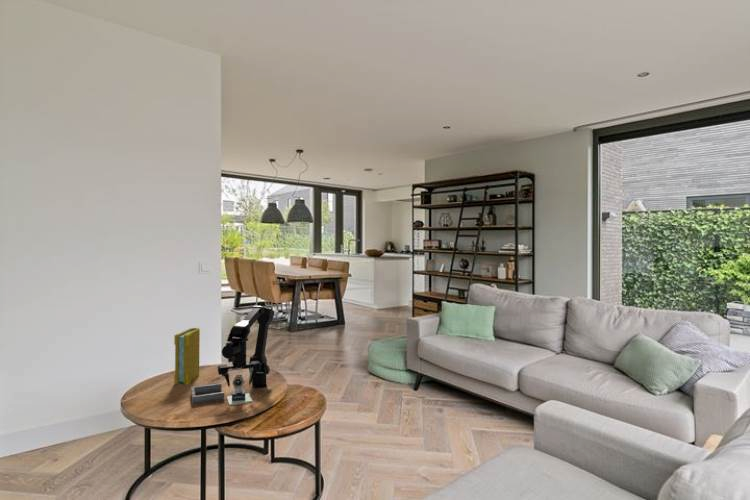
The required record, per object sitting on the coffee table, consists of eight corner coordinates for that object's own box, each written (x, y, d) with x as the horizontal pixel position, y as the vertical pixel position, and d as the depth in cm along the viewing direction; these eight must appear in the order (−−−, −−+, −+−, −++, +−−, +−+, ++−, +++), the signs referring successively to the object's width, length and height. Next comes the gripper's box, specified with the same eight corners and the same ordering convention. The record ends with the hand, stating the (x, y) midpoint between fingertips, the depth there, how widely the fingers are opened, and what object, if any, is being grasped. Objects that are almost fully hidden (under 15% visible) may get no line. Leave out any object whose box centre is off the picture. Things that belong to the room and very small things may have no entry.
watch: (231, 402, 183) (231, 378, 183) (233, 396, 191) (233, 372, 191) (244, 401, 185) (244, 377, 184) (245, 395, 192) (246, 372, 192)
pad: (248, 394, 195) (248, 393, 195) (252, 401, 186) (252, 400, 186) (226, 397, 191) (226, 396, 191) (229, 405, 182) (229, 404, 182)
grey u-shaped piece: (221, 390, 200) (221, 383, 200) (224, 400, 188) (224, 392, 188) (191, 394, 194) (191, 387, 194) (192, 404, 182) (192, 397, 182)
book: (187, 384, 207) (187, 335, 206) (174, 384, 207) (174, 335, 206) (201, 373, 224) (202, 328, 223) (189, 373, 224) (190, 327, 223)
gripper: (257, 346, 199) (256, 377, 200) (216, 350, 191) (216, 383, 191) (261, 351, 189) (261, 385, 190) (219, 356, 181) (218, 391, 181)
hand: (239, 385), depth 188 cm, fingers open, 9 cm apart
